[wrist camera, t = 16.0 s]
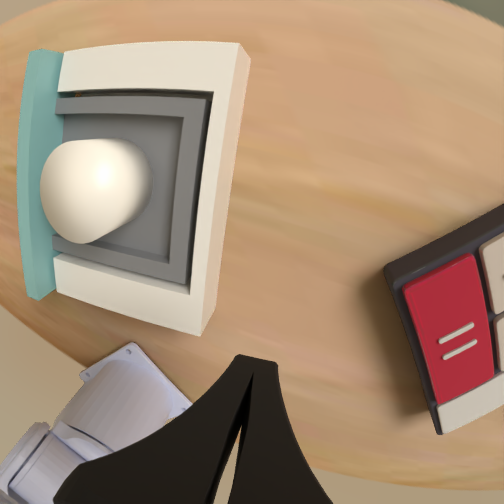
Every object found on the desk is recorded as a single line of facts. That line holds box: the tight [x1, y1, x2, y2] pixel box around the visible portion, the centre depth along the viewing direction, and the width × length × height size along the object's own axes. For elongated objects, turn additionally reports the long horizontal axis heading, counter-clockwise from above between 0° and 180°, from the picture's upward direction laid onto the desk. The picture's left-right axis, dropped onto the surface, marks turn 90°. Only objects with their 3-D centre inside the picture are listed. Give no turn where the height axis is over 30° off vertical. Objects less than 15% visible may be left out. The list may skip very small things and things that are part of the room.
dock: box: [53, 41, 251, 336], centre depth 18 cm, size 11×16×4 cm
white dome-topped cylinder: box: [40, 138, 153, 244], centre depth 16 cm, size 5×5×4 cm
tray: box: [17, 49, 212, 301], centre depth 17 cm, size 11×16×4 cm
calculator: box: [383, 204, 504, 435], centre depth 18 cm, size 11×4×15 cm
